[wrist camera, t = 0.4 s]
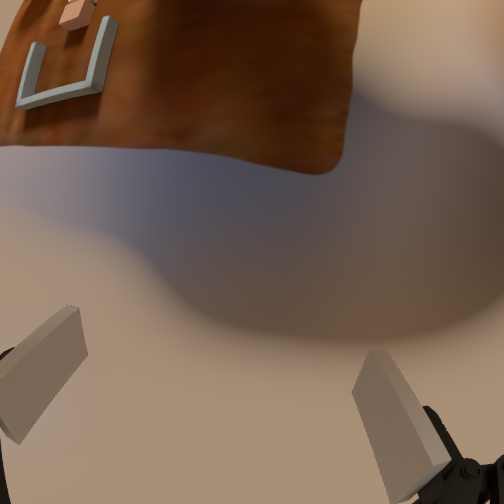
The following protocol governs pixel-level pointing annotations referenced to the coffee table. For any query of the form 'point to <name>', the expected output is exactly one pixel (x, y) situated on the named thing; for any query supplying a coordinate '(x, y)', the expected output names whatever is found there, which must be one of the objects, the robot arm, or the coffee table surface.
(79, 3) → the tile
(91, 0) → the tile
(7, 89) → the coffee table surface
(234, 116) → the coffee table surface
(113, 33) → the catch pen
